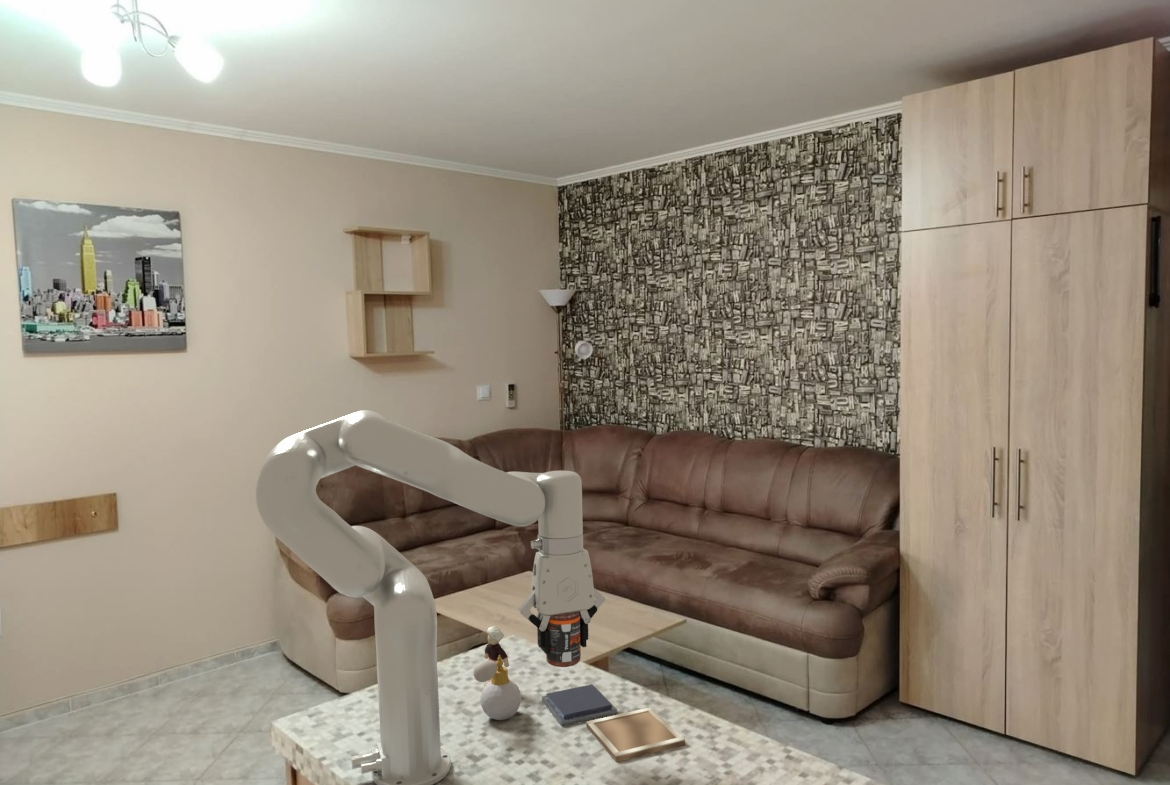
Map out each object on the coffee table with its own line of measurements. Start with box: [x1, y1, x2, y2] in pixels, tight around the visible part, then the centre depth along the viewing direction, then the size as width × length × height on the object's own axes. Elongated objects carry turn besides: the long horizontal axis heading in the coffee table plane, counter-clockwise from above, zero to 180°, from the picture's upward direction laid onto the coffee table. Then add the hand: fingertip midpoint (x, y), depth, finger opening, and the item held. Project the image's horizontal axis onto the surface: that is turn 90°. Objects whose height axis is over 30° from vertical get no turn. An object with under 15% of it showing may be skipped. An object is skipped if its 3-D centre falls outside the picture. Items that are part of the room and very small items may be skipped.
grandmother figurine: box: [483, 626, 510, 688], centre depth 158 cm, size 8×4×13 cm, turn 55°
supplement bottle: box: [545, 611, 582, 668], centre depth 134 cm, size 6×6×11 cm
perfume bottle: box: [472, 655, 522, 721], centre depth 145 cm, size 8×10×12 cm
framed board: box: [585, 706, 686, 763], centre depth 138 cm, size 13×13×1 cm
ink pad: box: [541, 683, 618, 727], centre depth 149 cm, size 11×11×2 cm
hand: (563, 646), depth 134 cm, fingers closed on supplement bottle, 6 cm apart
